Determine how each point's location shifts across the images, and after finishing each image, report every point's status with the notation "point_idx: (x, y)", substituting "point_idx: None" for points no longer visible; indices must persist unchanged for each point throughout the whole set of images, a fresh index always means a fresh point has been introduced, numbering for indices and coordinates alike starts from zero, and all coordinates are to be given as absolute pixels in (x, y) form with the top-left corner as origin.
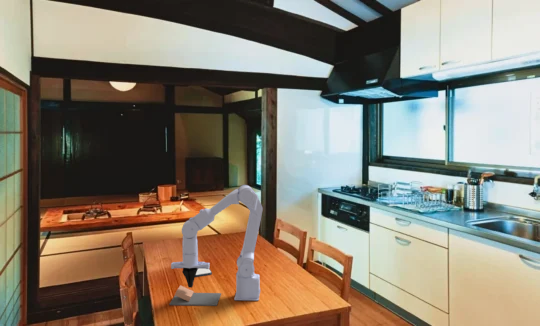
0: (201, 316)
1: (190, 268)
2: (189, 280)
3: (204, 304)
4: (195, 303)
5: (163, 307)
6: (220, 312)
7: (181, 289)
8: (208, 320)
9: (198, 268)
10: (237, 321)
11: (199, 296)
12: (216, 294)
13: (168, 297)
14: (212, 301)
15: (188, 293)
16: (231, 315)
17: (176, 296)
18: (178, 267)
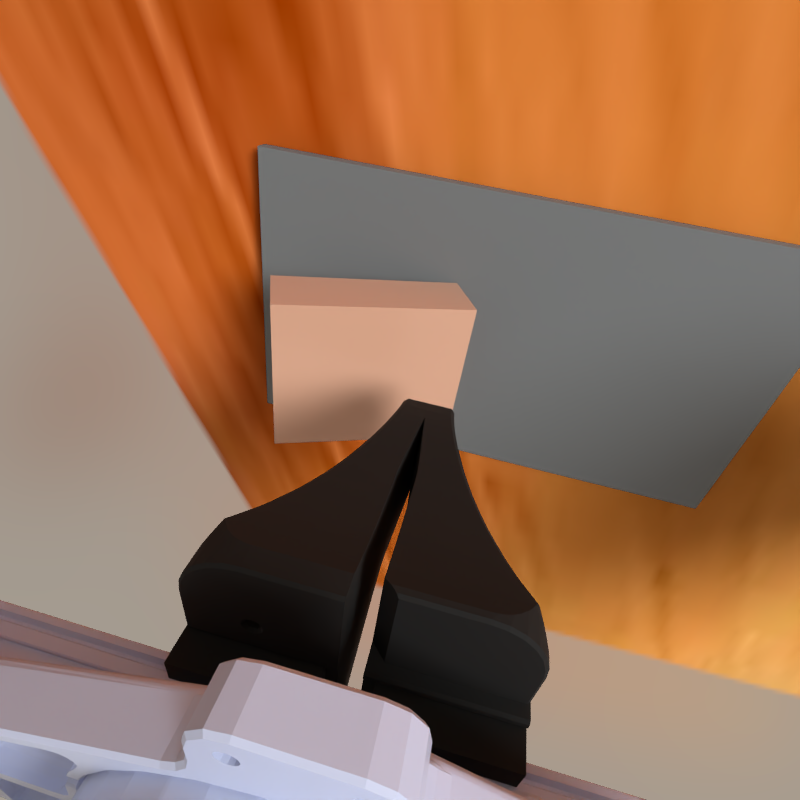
0: (535, 586)
1: (341, 657)
2: (390, 534)
3: (578, 478)
4: (495, 447)
5: (241, 419)
6: (690, 584)
7: (316, 386)
8: (577, 630)
9: (540, 788)
10: (770, 688)
11: (544, 312)
12: (783, 296)
13: (207, 236)
14: (671, 448)
15: (412, 397)
16: (762, 633)
17: (285, 265)
18: (70, 664)
